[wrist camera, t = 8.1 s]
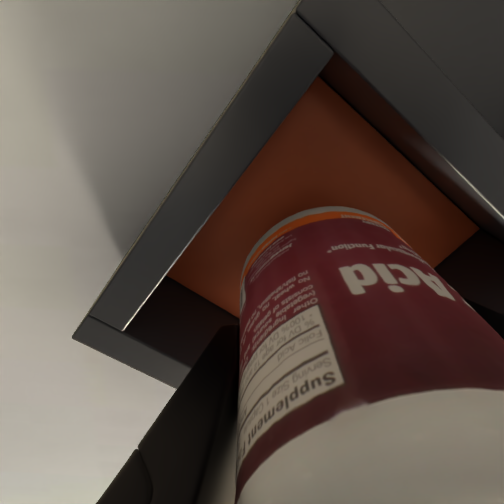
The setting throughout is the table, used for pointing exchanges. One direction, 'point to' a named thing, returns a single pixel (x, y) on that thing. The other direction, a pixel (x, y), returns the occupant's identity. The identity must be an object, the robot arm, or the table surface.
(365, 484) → the pill bottle
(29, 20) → the table surface
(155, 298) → the organiser
